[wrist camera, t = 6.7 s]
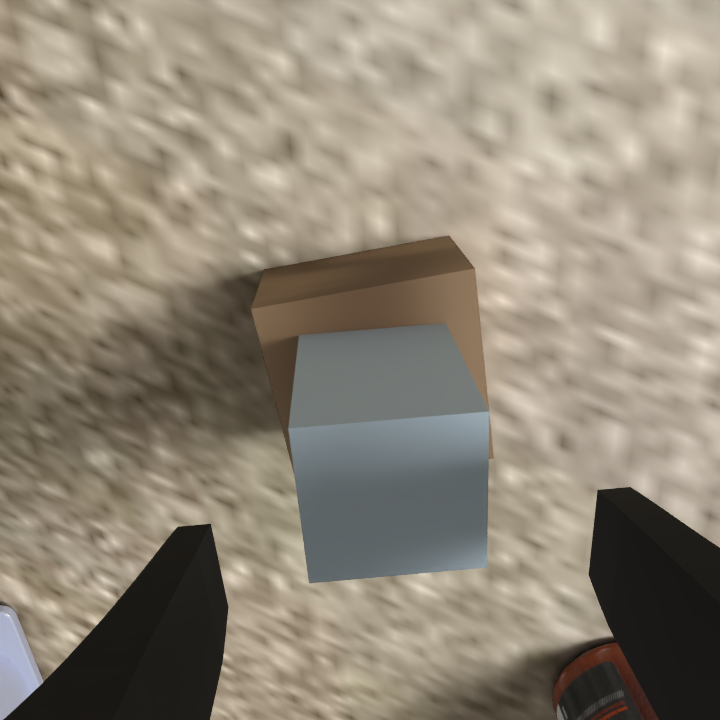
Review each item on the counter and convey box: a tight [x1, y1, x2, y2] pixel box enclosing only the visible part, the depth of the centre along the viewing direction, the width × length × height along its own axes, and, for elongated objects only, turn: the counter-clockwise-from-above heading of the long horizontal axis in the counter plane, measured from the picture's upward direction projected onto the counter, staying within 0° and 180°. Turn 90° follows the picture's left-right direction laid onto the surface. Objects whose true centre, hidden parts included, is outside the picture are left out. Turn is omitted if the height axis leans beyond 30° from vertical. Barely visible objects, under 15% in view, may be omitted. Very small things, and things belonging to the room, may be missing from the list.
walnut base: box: [251, 236, 494, 475], centre depth 19 cm, size 6×6×4 cm
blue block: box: [288, 323, 489, 583], centre depth 15 cm, size 4×4×5 cm
